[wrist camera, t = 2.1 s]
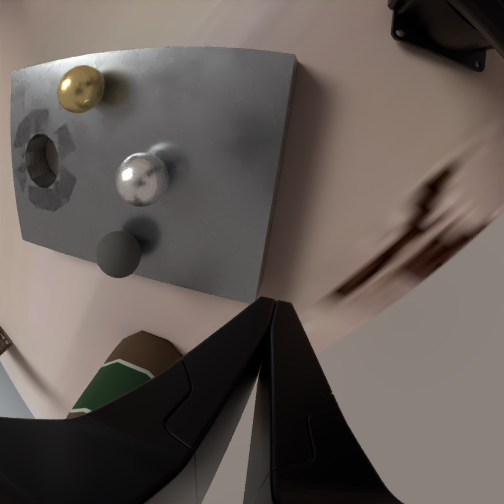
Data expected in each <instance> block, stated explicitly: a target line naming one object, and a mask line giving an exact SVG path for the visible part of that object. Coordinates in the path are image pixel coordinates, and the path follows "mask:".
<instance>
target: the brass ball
mask: <svg viewBox="0 0 504 504" xmlns="http://www.w3.org/2000/svg"><path fill="white" fill-rule="evenodd" d="M104 91H105V80H104V77H103V75H102V73H101V72H100V71H99V70H98V69H97V68H95V67H93V66H90V65H79V66H76V67H73V68H72V69H70V70H69V71H67V72H66V73H65V74H64V75H63V77H62V78H61V80H60V82H59V84H58V88H57V98H58V101H59V103H60V105H61V106H62V107H63V108H64V109H65V110H67V111H69V112H71V113H84V112H87V111H89V110H91V109H93V108H94V107H95V106H96V105H97V104H98V103H99V102H100V100H101V99H102V97H103V95H104Z"/></svg>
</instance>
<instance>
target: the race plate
mask: <svg viewBox="0 0 504 504" xmlns="http://www.w3.org/2000/svg"><path fill="white" fill-rule="evenodd" d="M297 64H298V60H297V58H296V56H295V54H288V53H280V52H272V51H263V50H253V49H240V48H223V47H159V48H142V49H130V50H120V51H111V52H103V53H96V54H90V55H83V56H77V57H72V58H67V59H62V60H57V61H52V62H48V63H44V64H39V65H35V66H32V67H28V68H24V69H20V70H17V71H14V72H12V86H11V153H12V167H13V178H14V187H15V196H16V203H17V210H18V216H19V222H20V228H21V233H22V238H23V240H25V241H28V242H31V243H34V244H37V245H40V246H43V247H46V248H49V249H52V250H55V251H59V252H62V253H65V254H68V255H71V256H75V257H78V258H81V259H84V260H88V261H91V262H94V263H98V262H97V258H96V250H97V246H98V244H99V242H100V241H101V239H102V238H103V237H104V236H105V235H107V234H108V233H110V232H113V231H124V232H127V233H129V234H131V235H132V236H133V237H134V238H135V239H136V240H137V241H138V243H139V245H140V249H141V260H140V263H139V266H138V267H137V269H136V270H135V271H134V272H133V273H132V274H136V275H139V276H143V277H147V278H150V279H154V280H158V281H162V282H165V283H169V284H173V285H177V286H181V287H184V288H188V289H192V290H196V291H200V292H204V293H208V294H212V295H216V296H220V297H225V298H229V299H233V300H237V301H241V302H246V303H250V304H252V303H253V302H254V301H256V298H257V295H258V292H259V289H260V286H261V282H262V276H263V270H264V265H265V259H266V253H267V247H268V242H269V236H270V230H271V224H272V218H273V213H274V207H275V201H276V195H277V189H278V183H279V177H280V171H281V165H282V159H283V153H284V146H285V140H286V134H287V128H288V122H289V115H290V109H291V103H292V96H293V90H294V83H295V77H296V70H297ZM79 65H90V66H93V67H95V68H97V69H98V70H99V71H100V72H101V73H102V75H103V77H104V80H105V91H104V95H103V97H102V99H101V100H100V102H99V103H98V104H97V105H96V106H95V107H94V108H93V109H91V110H89V111H87V112H84V113H71V112H69V111H67V110H65V109H64V108H63V107H62V106H61V105H60V103H59V101H58V98H57V88H58V84H59V82H60V80H61V78H62V77H63V75H64V74H65V73H66V72H67V71H69V70H70V69H72V68H73V67H76V66H79ZM48 137H49V138H50V139H51V140H52V141H53V142H54V145H55V148H56V150H57V153H58V156H59V172H58V175H57V177H56V176H55V175H54V174H53V173H51V172H50V170H49V167H48V165H47V163H46V160H45V145H46V142H47V139H48ZM141 152H144V153H150V154H153V155H155V156H157V157H158V158H160V159H161V160H162V161H163V162H164V164H165V166H166V168H167V170H168V175H169V182H168V187H167V189H166V192H165V193H164V195H163V196H162V197H161V198H160V199H159V200H158V201H157V202H155V203H154V204H152V205H149V206H145V207H137V206H133V205H130V204H129V203H127V202H125V201H124V200H123V199H122V198H121V197H120V195H119V193H118V191H117V188H116V183H115V178H116V173H117V170H118V168H119V166H120V165H121V163H122V162H123V161H124V160H125V159H126V158H127V157H129V156H131V155H133V154H136V153H141Z"/></svg>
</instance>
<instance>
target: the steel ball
mask: <svg viewBox="0 0 504 504" xmlns="http://www.w3.org/2000/svg"><path fill="white" fill-rule="evenodd" d="M168 182H169V175H168V170H167V168H166V166H165V164H164V162H163V161H162V160H161V159H160V158H158V157H157V156H155V155H153V154H150V153H144V152H141V153H136V154H133V155H131V156H129V157H127V158H126V159H125V160H124V161H123V162H122V163H121V165H120V166H119V168H118V170H117V173H116V178H115V183H116V188H117V191H118V193H119V195H120V197H121V198H122V199H123V200H124V201H125V202H127V203H129V204H130V205H133V206H137V207H145V206H149V205H152V204H154V203H155V202H157V201H158V200H159V199H160V198H161V197H162V196H163V195H164V193H165V192H166V189H167V187H168Z"/></svg>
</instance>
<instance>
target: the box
mask: <svg viewBox="0 0 504 504" xmlns="http://www.w3.org/2000/svg"><path fill="white" fill-rule="evenodd" d="M11 345H12V342H11V341H10V339H9V338H8V337H7V335H6V334H5V333H4V331H3V330H2V329H1V328H0V355H1V354H3V353H4V352H5V351H6V350H7V349H8V348H9V347H10V346H11Z"/></svg>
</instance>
